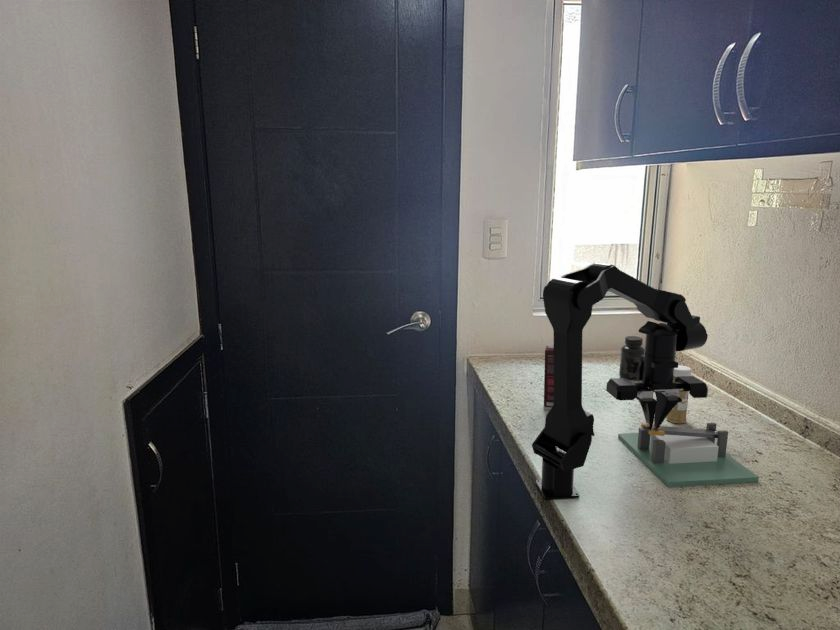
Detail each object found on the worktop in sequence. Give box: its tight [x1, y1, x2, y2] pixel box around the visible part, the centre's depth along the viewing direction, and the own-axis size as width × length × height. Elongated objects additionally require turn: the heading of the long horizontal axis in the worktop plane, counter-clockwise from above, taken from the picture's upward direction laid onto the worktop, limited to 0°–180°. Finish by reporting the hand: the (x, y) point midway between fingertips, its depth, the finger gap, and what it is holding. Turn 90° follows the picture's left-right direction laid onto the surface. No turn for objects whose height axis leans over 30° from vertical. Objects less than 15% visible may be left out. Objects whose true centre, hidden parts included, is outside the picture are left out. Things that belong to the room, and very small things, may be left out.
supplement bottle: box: [618, 335, 645, 381], centre depth 169 cm, size 7×7×12 cm
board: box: [617, 422, 760, 488], centre depth 118 cm, size 22×18×6 cm
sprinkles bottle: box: [665, 364, 692, 424], centre depth 137 cm, size 5×5×13 cm
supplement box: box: [543, 345, 554, 411], centre depth 145 cm, size 9×5×16 cm, turn 74°
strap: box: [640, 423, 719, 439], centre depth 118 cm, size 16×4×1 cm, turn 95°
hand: (652, 427), depth 117 cm, fingers closed
